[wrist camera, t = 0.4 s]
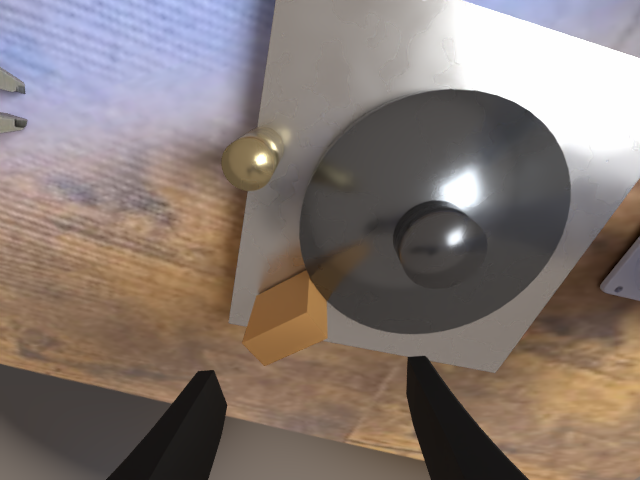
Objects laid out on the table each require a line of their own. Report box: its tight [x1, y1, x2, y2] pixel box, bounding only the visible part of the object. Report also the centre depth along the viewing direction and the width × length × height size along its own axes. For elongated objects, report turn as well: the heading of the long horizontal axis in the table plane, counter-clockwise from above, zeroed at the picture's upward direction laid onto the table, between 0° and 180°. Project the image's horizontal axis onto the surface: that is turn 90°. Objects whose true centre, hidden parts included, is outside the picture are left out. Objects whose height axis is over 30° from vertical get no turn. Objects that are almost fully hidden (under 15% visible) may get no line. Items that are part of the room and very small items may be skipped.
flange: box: [242, 89, 571, 366], centre depth 16 cm, size 18×14×4 cm
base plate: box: [221, 0, 640, 373], centre depth 16 cm, size 20×20×6 cm
